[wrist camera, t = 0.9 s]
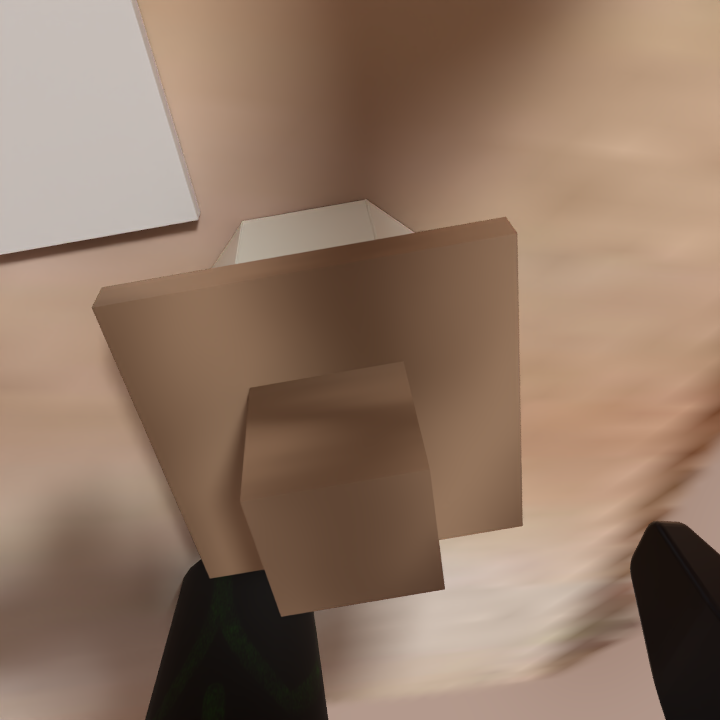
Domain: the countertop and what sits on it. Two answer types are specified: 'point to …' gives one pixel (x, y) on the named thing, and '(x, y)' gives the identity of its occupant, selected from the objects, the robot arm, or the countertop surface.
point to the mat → (84, 126)
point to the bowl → (309, 232)
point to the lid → (333, 407)
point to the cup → (237, 655)
